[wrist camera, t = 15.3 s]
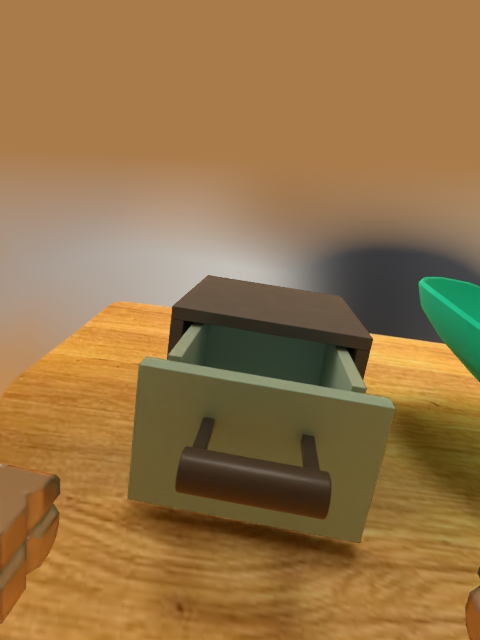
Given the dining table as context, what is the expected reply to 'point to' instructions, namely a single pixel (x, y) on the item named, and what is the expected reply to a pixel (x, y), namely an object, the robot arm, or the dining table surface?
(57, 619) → the dining table surface
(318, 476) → the drawer
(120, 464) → the dining table surface
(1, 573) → the robot arm
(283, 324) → the mini chest of drawers
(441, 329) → the table top decor
